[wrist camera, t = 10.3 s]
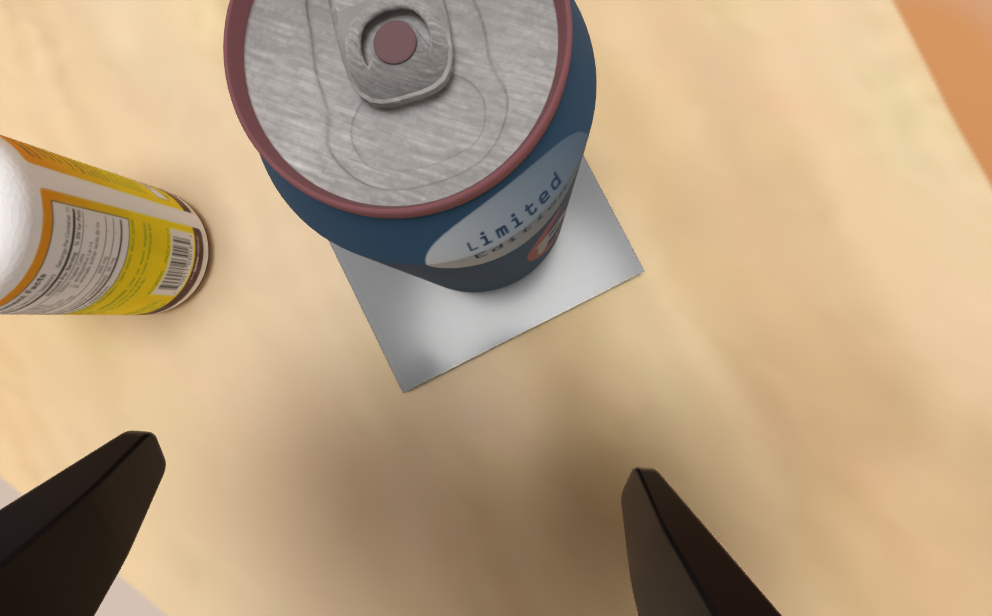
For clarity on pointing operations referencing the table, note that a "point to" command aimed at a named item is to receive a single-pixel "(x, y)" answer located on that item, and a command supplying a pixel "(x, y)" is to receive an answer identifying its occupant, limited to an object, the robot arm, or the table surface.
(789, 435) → the table surface
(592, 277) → the coaster
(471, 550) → the table surface
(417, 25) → the soda can
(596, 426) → the table surface
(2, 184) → the supplement bottle
